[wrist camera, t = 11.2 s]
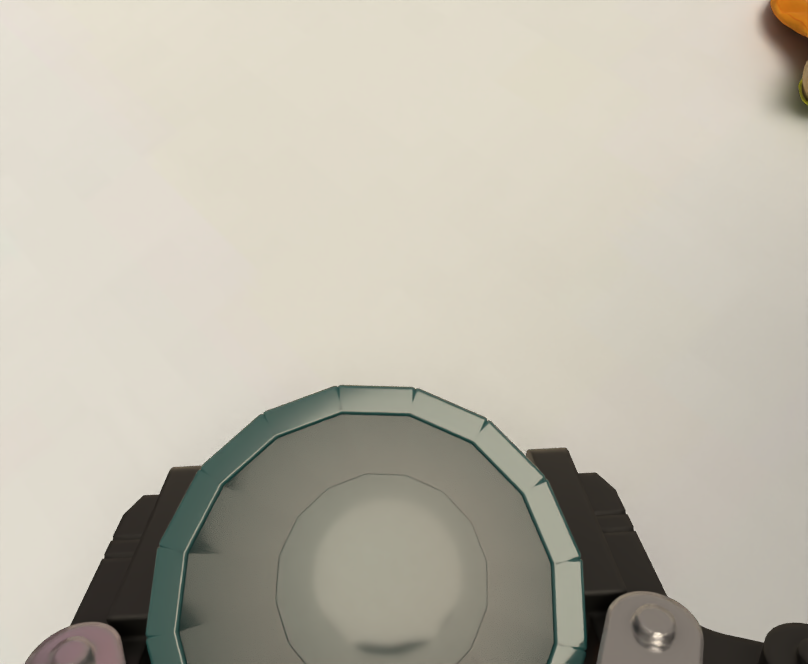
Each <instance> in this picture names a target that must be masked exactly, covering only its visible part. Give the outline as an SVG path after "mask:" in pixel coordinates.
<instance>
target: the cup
mask: <svg viewBox="0 0 808 664" xmlns="http://www.w3.org/2000/svg"><path fill="white" fill-rule="evenodd" d="M545 478H546V477H545V475H544V474H543V473H542V472H541V471H540V470H539V469H538V468H537V467H536V466H535V465H534V464H533V463H532V462H531V461H530V460H529V459H528V458H527V457H526V456H525V455H524V454H523V453H522V452H521V451H520V450H519V449H518V448H517V447H516V446H515V445H514V444H513V443H512V442H511V441H510V440H509V439H508V438H507V437H506V436H505V435H504V434H503V433H502V432H501V431H500V430H499V429H498V428H497V427H496V426H495V425H494V424H493V423H492V422H491V421H489V420H488V421H487V419H486V418H485V417H484V416H481V415H479V414H477V413H474V412H472V411H470V410H467V409H465V408H463V407H461V406H458V405H456V404H454V403H451V402H449V401H447V400H444V399H442V398H440V397H438V396H435V395H433V394H431V393H428V392H426V391H424V390H421V389H418V388H416V389H415V388H413V387H397V386H361V385H340V386H338V387H337V386H333V387H330V388H327V389H325V390H322V391H319V392H316V393H314V394H311V395H308V396H305V397H303V398H300V399H297V400H295V401H292V402H289V403H286V404H284V405H281V406H278V407H275V408H273V409H270V410H267V411H265V412H264V413H263V414H261V415H259V416H258V417H256V418H255V419H254V420H253V421H252V422H251V423H250V424H248V425H247V426H246V427H245V428H244V429H243V430H242V431H240V432H239V433H238V434H237V435H236V436H235V437H234V438H232V439H231V440H230V441H229V442H228V443H227V444H226V445H224V446H223V447H222V448H221V449H220V450H219V451H218V452H217V453H215V454H214V455H213V456H212V457H211V458H210V459H209V460H207V461H206V462H205V463H204V464H203V465H202V466H201V469H199V470H198V471H197V473H196V475H195V477H194V478H193V480H192V482H191V484H190V486H189V488H188V490H187V491H186V493H185V495H184V497H183V499H182V501H181V503H180V504H179V506H178V508H177V510H176V512H175V514H174V516H173V518H172V519H171V521H170V523H169V525H168V527H167V529H166V531H165V532H164V534H163V536H162V538H161V540H160V542H159V546H160V547H158V548H157V552H156V559H155V566H154V574H153V581H152V588H151V596H150V603H149V610H148V618H147V625H146V632H145V634H146V637H148V638H147V639H146V645H147V649H148V654H149V658H150V662H151V664H584V661H585V658H586V651H585V650H587V647H588V646H587V627H586V608H585V589H584V570H583V561H582V559H580V558H581V553H580V551H579V548H578V546H577V544H576V541H575V539H574V537H573V535H572V532H571V530H570V528H569V526H568V523H567V521H566V519H565V517H564V514H563V512H562V510H561V508H560V505H559V503H558V501H557V498H556V496H555V494H554V492H553V489H552V487H551V485H550V483H549V481H548V480H547V479H545Z"/></svg>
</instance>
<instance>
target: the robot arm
mask: <svg viewBox="0 0 808 664" xmlns="http://www.w3.org/2000/svg"><path fill="white" fill-rule="evenodd" d="M526 457H527V458H528V459H529V460H530V461H531V462H532V463H533V464H534V465H535V466H536V467H537V468H538V469H539V470H540V471H541V472H542V473H543V474H544V475H545V477H546V478H545V479H547V480H548V481H549V483H550V485H551V487H552V489H553V492H554V494H555V496H556V498H557V501H558V503H559V505H560V508H561V510H562V512H563V514H564V517H565V519H566V521H567V523H568V526H569V528H570V530H571V532H572V535H573V537H574V539H575V541H576V544H577V546H578V548H579V551H580V553H581V558H580V559H582V561H583V570H584V589H585V608H586V627H587V646H588V647H587V650H585V651H586V658H585V661H584V664H808V624H804V623H786V624H782V625H779V626H777V627H775V628H773V629H772V630H771V631H770V632H769V633H768V634H767V636H766V638H765V641H764V643H762V642H758V641H753V640H748V639H744V638H739V637H735V636H730V635H725V634H722V633H718V632H714V631H712V630H709V629H707V628H704V627H702V626H700V625H699V623H698V621H697V620H696V618H695V617H694V616H693V615H692V614H691V613H690V611H689V610H688V609H686V608H685V607H684V606H683V605H681V604H680V603H678V602H677V601H675V600H673V599H671V598H669V597H668V596H667V595H666V593H665V591H664V589H663V587H662V585H661V583H660V581H659V579H658V576H657V574H656V572H655V570H654V568H653V566H652V564H651V562H650V560H649V558H648V556H647V554H646V552H645V550H644V548H643V546H642V543H641V541H640V539H639V537H638V535H637V533H636V531H634V529H633V525H632V523H631V521H630V519H629V517H628V515H627V514H626V513H625V508H624V506H623V504H622V502H621V500H620V498H619V496H618V494H617V492H616V490H615V489H614V488H613V487H612V486H611V485H610V484H608V483H607V482H606V481H605V480H604V479H603V478H602V477H600V476H599V475H598V474H597V473H579V474H578V472H577V470H576V468H575V465H574V463H573V461H572V458H571V456H570V454H569V451H568V450H567V448H549V449H529V450H527V453H526ZM199 469H201V466H184V467H173V468H171V469H170V471H169V473H168V475H167V478H166V480H165V482H164V485H163V487H162V489H161V492H160V494H159V495H143V496H142V497H141V498H140V499H139V500H138V501H137V502H136V503H135V504H134V505H133V506H132V507H131V508H130V509H129V510H128V511H127V512H126V513H125V514H124V515H123V517H122V519H121V521H120V523H119V525H118V527H117V529H116V531H115V533H114V536H113V541H111V542H110V544H109V546H108V548H107V550H106V552H105V554H104V555H105V557H104V559H102V560H101V563H100V565H99V567H98V569H97V571H96V573H95V575H94V577H93V579H92V581H91V583H90V585H89V588H88V590H87V592H86V594H85V596H84V598H83V600H82V602H81V604H80V606H79V608H78V610H77V612H76V615H75V617H74V619H73V621H72V623H71V625H70V626H69V627H66V628H64V629H62V630H60V631H58V632H56V633H55V634H53V635H51V636H50V637H48V638H47V639H46V640H44V641H43V642H42V643H41V644H40V645H39V646H38V647H37V648H36V649H35V650H34V651H33V652H32V653H31V655H30V656H29V657H28V659H27V660H26V662H25V664H151V662H150V658H149V654H148V649H147V645H146V639H147V638H148V637H146V634H145V632H146V625H147V618H148V610H149V603H150V596H151V588H152V581H153V574H154V566H155V559H156V552H157V548H158V547H160V546H159V542H160V540H161V538H162V536H163V534H164V532H165V531H166V529H167V527H168V525H169V523H170V521H171V519H172V518H173V516H174V514H175V512H176V510H177V508H178V506H179V504H180V503H181V501H182V499H183V497H184V495H185V493H186V491H187V490H188V488H189V486H190V484H191V482H192V480H193V478H194V477H195V475H196V473H197V471H198V470H199Z"/></svg>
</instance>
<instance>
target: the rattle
mask: <svg viewBox="0 0 808 664" xmlns="http://www.w3.org/2000/svg"><path fill="white" fill-rule="evenodd" d="M770 5H771V9H772V11H773V13H774V15H775V16H776V17H777V18H778V19H779V20H780V21H781V22H782V23H783V24H784V25H786V26H787V27H789V28H791V29H792V30H794V31H795V32H797V33H799V34H801V35H803V36H806V37H807V38H808V0H771V1H770ZM798 88H799V94H800V97H801V99H802V101H803V102H804V103H805V104H806V105H808V60H807V62H806V64H805V67H804V70H803V76H802V79H801V81H800V82H799V86H798Z"/></svg>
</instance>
